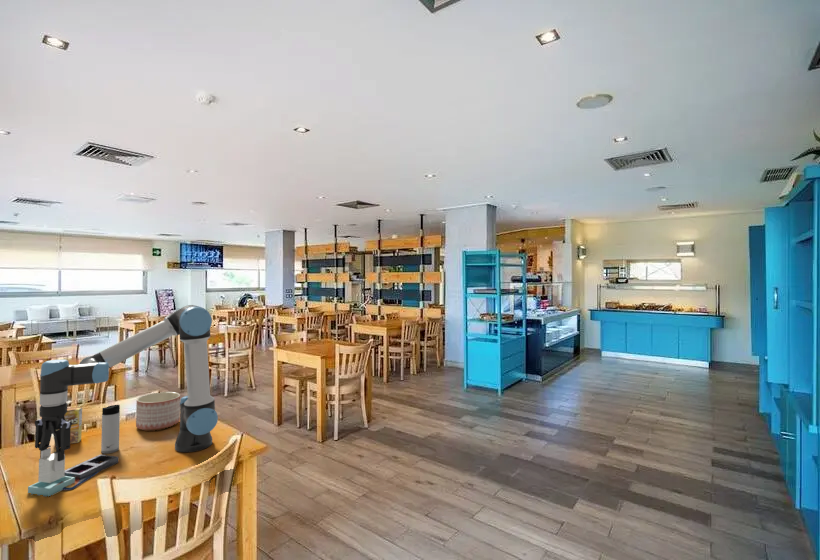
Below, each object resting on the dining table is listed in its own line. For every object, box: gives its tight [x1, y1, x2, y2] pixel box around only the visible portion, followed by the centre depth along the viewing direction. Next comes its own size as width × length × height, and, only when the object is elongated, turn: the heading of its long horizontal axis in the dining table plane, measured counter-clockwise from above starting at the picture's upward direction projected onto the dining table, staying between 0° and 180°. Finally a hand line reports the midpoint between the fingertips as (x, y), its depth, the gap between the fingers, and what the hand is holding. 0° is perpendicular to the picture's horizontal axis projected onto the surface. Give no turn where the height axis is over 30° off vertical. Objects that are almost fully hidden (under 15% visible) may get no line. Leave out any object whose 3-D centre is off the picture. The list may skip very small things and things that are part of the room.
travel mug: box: [100, 404, 121, 455], centre depth 178 cm, size 6×7×20 cm
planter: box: [135, 391, 181, 432], centre depth 209 cm, size 19×19×15 cm
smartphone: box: [53, 470, 99, 491], centre depth 153 cm, size 7×15×1 cm, turn 2°
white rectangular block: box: [37, 452, 66, 483], centre depth 146 cm, size 5×5×8 cm
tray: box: [27, 476, 75, 498], centre depth 146 cm, size 9×9×2 cm
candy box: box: [58, 406, 83, 444], centre depth 186 cm, size 9×4×15 cm, turn 113°
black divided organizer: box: [64, 453, 119, 480], centre depth 160 cm, size 9×16×2 cm, turn 169°
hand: (51, 468), depth 146 cm, fingers closed on white rectangular block, 5 cm apart
